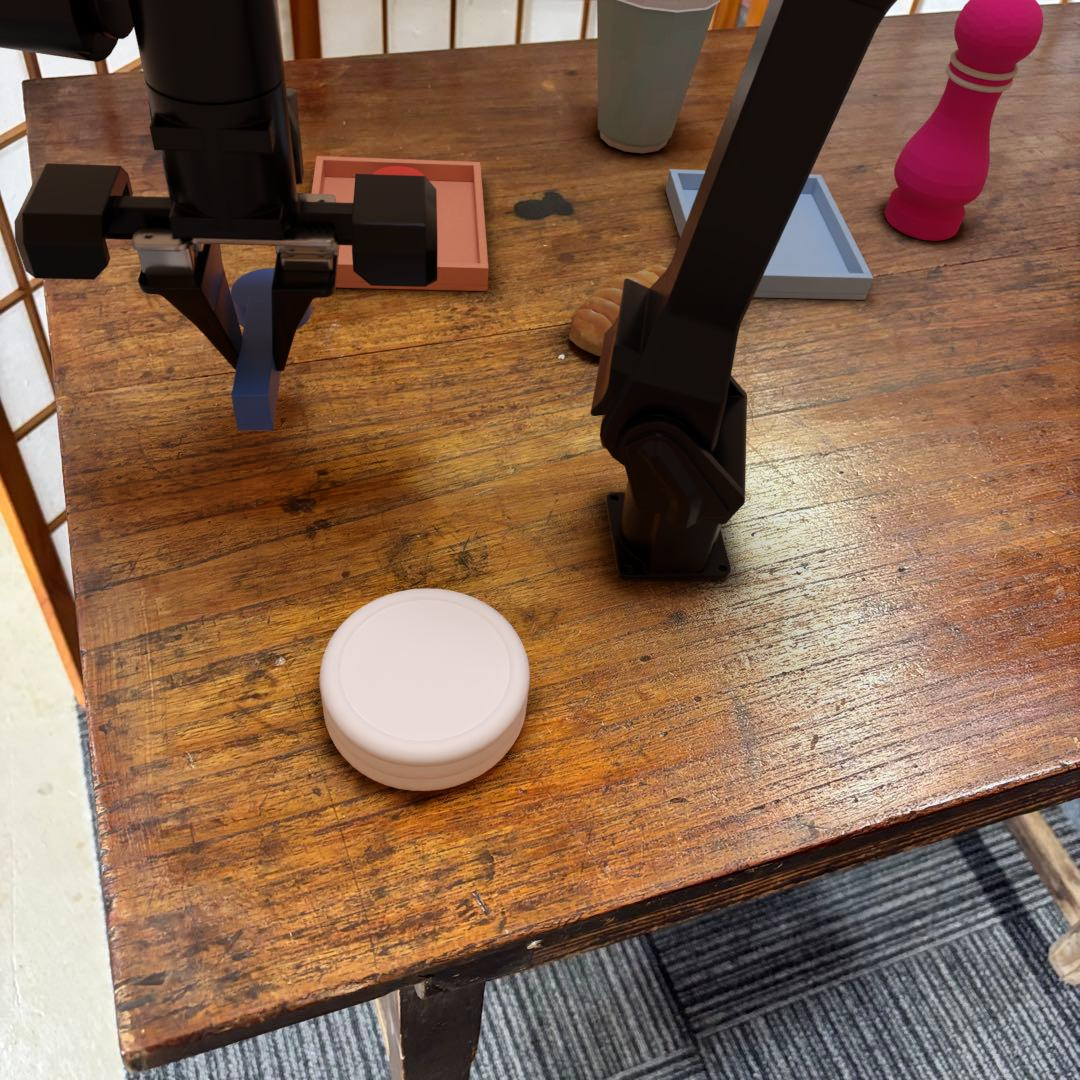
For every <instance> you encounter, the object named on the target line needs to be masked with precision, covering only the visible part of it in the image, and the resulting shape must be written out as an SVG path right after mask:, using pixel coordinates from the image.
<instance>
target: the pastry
mask: <svg viewBox="0 0 1080 1080" xmlns="http://www.w3.org/2000/svg"><path fill="white" fill-rule="evenodd" d="M667 268H668V267H665V266H663V265H661V264H657V263H655V264H654V265H652V266H647V267H645V268H643V270H639V271H637V272H631V273H630V272H628V273H626V274H624V275H620V276H616V277H613V278H612V279H610V280H609V281H608V282H607V283H605V284H603V285H602V286H600V288H598V289H596V290H595V291H594V292H593V293H592V294H591V295H590V296H589V297H588V298H587V299H585V301H584V303H582V304H581V305H580V306H579V307H578V309H577V310H576V311H575V312H574V313H573V314H572V316H571V325H570V332H569V335H568V336H569V337H568V338H569V341H571V342H572V343H574V344H575V346H577V347H578V348H580V349H581V350H583V351H586V352H588V353H590V354H593V355H595V356H597V357H601V351H602V345H603V340H604V334H605V332H606V331H607V330H608V329H609V328H610V327H611V326H612V325H613V324H614V322H615V320H616V319H617V317H618V315H619V309H620V303H621V297H622V291H623V285H624V280H625V279H630V280H632V281H635V282H637V283H639V284H641V285H643V286H646V287H648V288H650V287H651V286H652V285H653V284H654V283H655V282H656V281H657V280H658V279H659V278H660V277H661V276H662V275H663V274H664V272H665V271H666V270H667Z"/></svg>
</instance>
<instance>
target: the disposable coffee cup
mask: <svg viewBox="0 0 1080 1080" xmlns="http://www.w3.org/2000/svg"><path fill="white" fill-rule="evenodd" d="M720 2H721V0H596V21H597V22H596V27H597V28H596V29H597V30H596V31H597V32H596V34H597V35H596V38H597V39H596V40H597V43H596V45H597V47H596V48H597V49H596V50H597V52H596V53H597V130H598V131H599V138H600V139H601V140H602V141H603V142H605V144H606V145H608V146H610V147H612V148H615V149H617V150H620V151H623V152H628V153H635V154H647V153H655V152H658V151H660V150H661V149H662V148H664V147H666V146H667V144H668V141H669V140H670V139H671V138H672V136H673V133H674V130H675V127H676V124H677V122H678V118H679V116H680V113H681V110H682V107H683V104H684V101H685V98H686V95H687V93H688V89H689V87H690V83H691V80H692V78H693V75H694V71H695V69H696V65H697V63H698V60H699V57H700V54H701V51H702V49H703V46H704V44H705V40H706V37H707V34H708V31H709V28H710V26H711V22H712V20H713V16H714V14H715V11H716V8H717V5H718V4H719V3H720Z"/></svg>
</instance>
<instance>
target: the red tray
mask: <svg viewBox="0 0 1080 1080" xmlns="http://www.w3.org/2000/svg"><path fill="white" fill-rule="evenodd" d="M314 163H315V164H314V169H313V171H314V172H313V179H312V185H311V186H312V187H311V193H310V194H332V195H334V196H335V197H336V202H339V203H353V200H354V187H355V174H373V173H374V172H375V171H377V170H379V169H381V168H384V167H389V166H405V167H410V168H413V169H416V170H418V171H420V172H421V173H422V174H423V175H424V176H425V177H426V178H427V179H428V180H429V181H430V183H431V184H432V185H433V186H434V187H435V188H436V194H437V250H438V252H437V281H435V282H433V283H432V284H430V285H428V286H426V287H410V286H371V285H370V284H368V283H367V282H366V281H365V280H364V279H362V278H361V277H360V276H359V275H357V274H356V273H355V272H354V271H353V259H352V245H339V256H338V267H337V278H336V289H337V288H339V289H376V290H377V289H381V290H383V289H384V290H385V289H386V290H390V289H391V290H421V291H422V290H423V291H427V290H429V291H465V292H466V291H468V292H487V291H488V288H489V286H488V285H489V257H488V244H487V231H486V218H485V217H486V216H485V205H484V204H485V203H484V192H483V178H482V177H483V176H482V165H481V162H480V161H463V160H462V161H461V160H460V161H459V160H436V159H435V160H434V159H408V158H381V157H378V158H377V157H357V156H355V157H353V156H327V155H316V157H315V162H314Z"/></svg>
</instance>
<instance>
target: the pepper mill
mask: <svg viewBox="0 0 1080 1080" xmlns="http://www.w3.org/2000/svg"><path fill="white" fill-rule="evenodd" d="M1043 28H1044V15H1043V10H1042V7H1041V5H1040V3H1039V2H1038V1H1037V0H968V1H967V2H966V3H965V4H964V6H963V7H962V9H961V11H960V12H959V13H958V16H957V19H956V20H955V25H954V31H953V36H954V41H955V43H956V46H957V49H955V50H954V51H952V53H950V56H949V57H950V59H949V60H950V61H949V63H948V64H947V65H946V67H945V73H946V75H947V77H948V78H947V81H946V84H945V87H944V91H943V93H942V96H941V98H940V100H939V102H938V104H937V106H936V107H935V109H934V111H933V112H932V114H931V115H930V117H929V118H928V119H926V121H925V122H924V123H923V124H922V126H921V127H920V128H919V129H918V130H917V131H916V132H915V133H914V134H913V135H912V136H911V137H910V138H909V139H908V141H907V142H906V144H904V147H903V148H902V149H901V151H900V154H899V156H898V158H897V160H896V162H895V164H894V169H893V176H894V180H895V183H896V185H897V187H896V188H894V189H893V190H892V191H891V193H890V195H889V197H888V201H887V203H886V207H885V209H884V217H885V219H886V221H887V222H888V224H889V226H891V227H892V228H894V229H895V230H897V231H898V232H899V233H902V234H904V235H906V236H909V237H911V238H913V239H916V240H917V239H918V240H922V241H930V242H932V241H933V242H934V241H935V242H941V241H944V240H949V239H951V238H952V237H954V236H955V235H957V234H958V232H959V230H960V228H961V225H962V222H963V220H964V218H965V216H966V207H965V206H966V205H969V204H970V203H972V202H973V201H975V200H976V199H977V198H978V197H979V196H980V195H981V194H982V192H983V190H984V187H985V184H986V181H987V178H988V176H989V175H988V174H989V167H990V162H991V161H990V160H991V159H990V155H991V154H990V143H991V141H990V136H991V126H992V120H993V116H994V113H995V110H996V108H997V104H998V102H999V100H1000V98H1001V96H1002V94H1003V92H1006V91H1008V90H1009V89H1011V88H1012V86H1013V84H1014V79H1015V77H1016V76H1017V75H1018V72H1019V66H1018V65H1017V64H1018V63H1019V62H1021V61H1022V60H1024V59H1026V58H1027V57H1029V56H1030V55H1031V53H1033V52H1034V50H1035V49H1036V47H1037V45H1038V43H1039V41H1040V39H1041V36H1042V33H1043Z"/></svg>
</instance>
